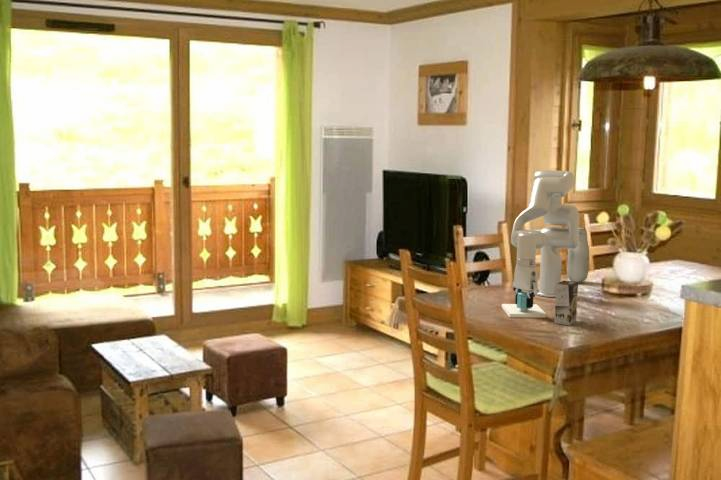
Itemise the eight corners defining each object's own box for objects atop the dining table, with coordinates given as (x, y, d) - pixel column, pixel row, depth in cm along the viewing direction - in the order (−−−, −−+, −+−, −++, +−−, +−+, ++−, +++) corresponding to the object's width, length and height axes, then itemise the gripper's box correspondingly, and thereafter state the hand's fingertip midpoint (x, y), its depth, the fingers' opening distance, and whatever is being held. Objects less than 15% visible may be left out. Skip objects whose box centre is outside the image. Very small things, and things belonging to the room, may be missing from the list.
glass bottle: (570, 279, 399) (573, 225, 395) (590, 282, 393) (593, 227, 389) (563, 282, 391) (566, 227, 387) (583, 285, 386) (586, 229, 382)
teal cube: (534, 307, 322) (535, 293, 321) (523, 309, 319) (524, 295, 318) (524, 305, 327) (525, 291, 326) (513, 306, 324) (514, 292, 323)
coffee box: (569, 325, 306) (571, 285, 303) (553, 323, 309) (555, 283, 307) (576, 320, 313) (578, 281, 311) (561, 318, 317) (563, 279, 314)
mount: (536, 307, 336) (537, 289, 335) (546, 317, 318) (547, 298, 317) (501, 307, 336) (502, 289, 335) (509, 317, 318) (510, 298, 317)
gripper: (547, 265, 315) (545, 308, 317) (518, 258, 330) (517, 300, 332) (533, 266, 311) (531, 310, 314) (504, 260, 326) (503, 302, 328)
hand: (524, 305), depth 323 cm, fingers closed on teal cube, 6 cm apart
